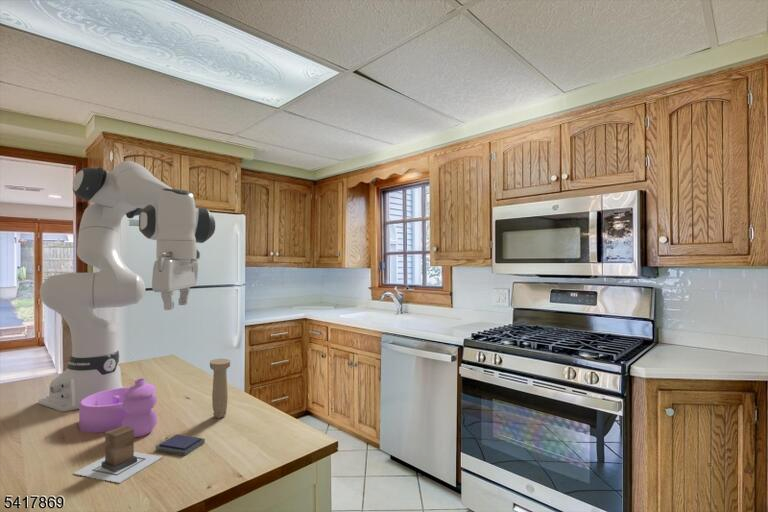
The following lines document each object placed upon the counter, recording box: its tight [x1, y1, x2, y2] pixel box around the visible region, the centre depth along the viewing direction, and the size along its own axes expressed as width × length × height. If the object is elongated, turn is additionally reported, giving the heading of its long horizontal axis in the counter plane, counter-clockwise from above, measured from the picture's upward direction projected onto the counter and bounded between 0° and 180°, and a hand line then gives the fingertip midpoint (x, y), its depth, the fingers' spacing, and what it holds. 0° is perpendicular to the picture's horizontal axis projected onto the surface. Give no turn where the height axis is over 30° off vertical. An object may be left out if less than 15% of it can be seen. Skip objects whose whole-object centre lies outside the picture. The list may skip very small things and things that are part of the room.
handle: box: [209, 358, 231, 419], centre depth 105 cm, size 5×6×15 cm
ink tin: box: [155, 434, 206, 457], centre depth 88 cm, size 8×6×1 cm
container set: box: [78, 377, 158, 438], centre depth 100 cm, size 25×15×13 cm, turn 56°
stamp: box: [101, 426, 137, 472], centre depth 80 cm, size 4×4×7 cm
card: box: [72, 451, 163, 484], centre depth 80 cm, size 12×10×1 cm
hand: (176, 307), depth 97 cm, fingers open, 8 cm apart
